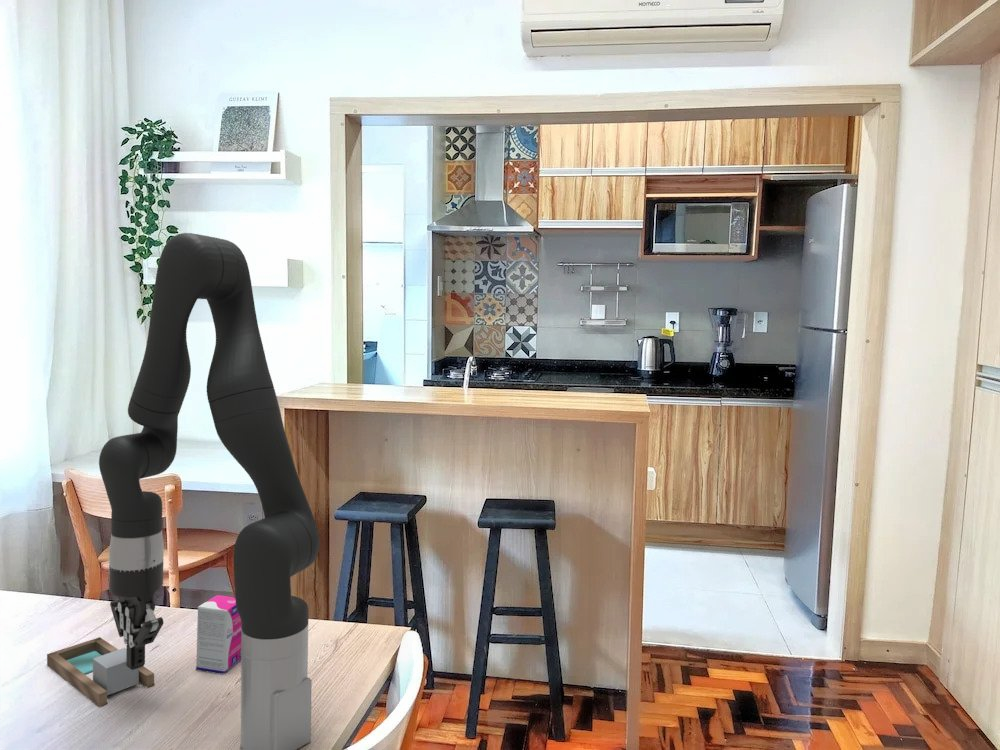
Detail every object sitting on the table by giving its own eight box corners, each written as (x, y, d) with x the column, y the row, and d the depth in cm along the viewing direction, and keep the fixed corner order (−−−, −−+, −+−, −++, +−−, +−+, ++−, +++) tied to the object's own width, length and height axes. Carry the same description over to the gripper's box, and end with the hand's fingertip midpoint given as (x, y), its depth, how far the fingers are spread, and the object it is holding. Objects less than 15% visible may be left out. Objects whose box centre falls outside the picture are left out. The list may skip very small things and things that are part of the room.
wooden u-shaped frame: (154, 684, 114) (154, 673, 114) (99, 706, 107) (98, 694, 107) (99, 647, 126) (99, 637, 126) (47, 665, 119) (47, 654, 119)
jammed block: (138, 683, 113) (138, 656, 113) (106, 695, 109) (106, 668, 109) (124, 673, 116) (124, 647, 116) (93, 685, 112) (92, 658, 112)
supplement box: (225, 675, 118) (226, 610, 117) (195, 670, 119) (195, 606, 118) (244, 659, 123) (245, 597, 123) (215, 655, 125) (215, 593, 124)
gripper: (182, 564, 106) (180, 672, 107) (140, 544, 114) (139, 644, 115) (132, 577, 100) (130, 691, 101) (92, 555, 108) (91, 661, 109)
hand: (135, 666), depth 108 cm, fingers closed
